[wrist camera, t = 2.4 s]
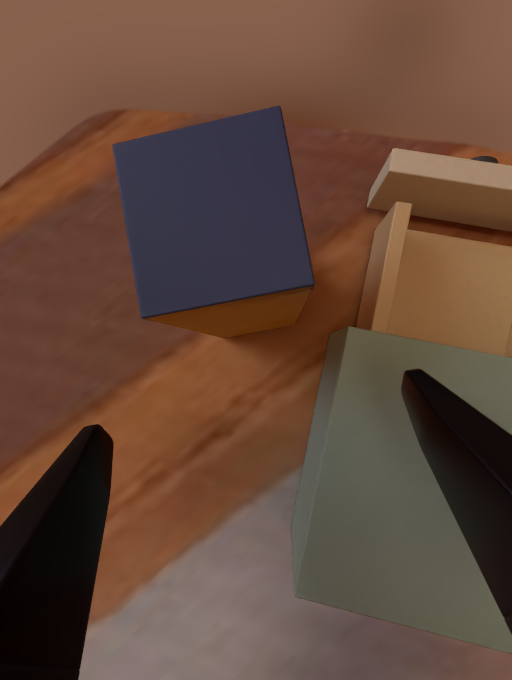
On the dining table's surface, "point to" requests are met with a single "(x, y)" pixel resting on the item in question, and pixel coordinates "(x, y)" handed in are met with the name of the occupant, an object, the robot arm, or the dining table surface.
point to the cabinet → (392, 491)
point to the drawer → (440, 253)
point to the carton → (216, 225)
